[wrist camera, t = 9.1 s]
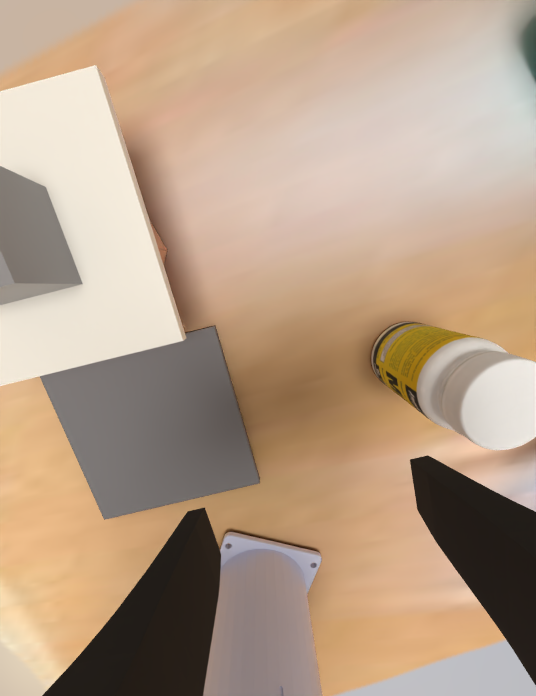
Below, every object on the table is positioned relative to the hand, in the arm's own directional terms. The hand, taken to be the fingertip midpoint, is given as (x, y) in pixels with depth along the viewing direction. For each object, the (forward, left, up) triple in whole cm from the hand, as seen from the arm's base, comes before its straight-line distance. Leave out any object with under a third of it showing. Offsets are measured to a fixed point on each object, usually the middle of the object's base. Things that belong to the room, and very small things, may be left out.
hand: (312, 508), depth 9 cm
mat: (-5, +8, -10) cm, 14 cm away
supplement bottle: (+5, -7, -11) cm, 14 cm away
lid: (+5, +14, -5) cm, 16 cm away
